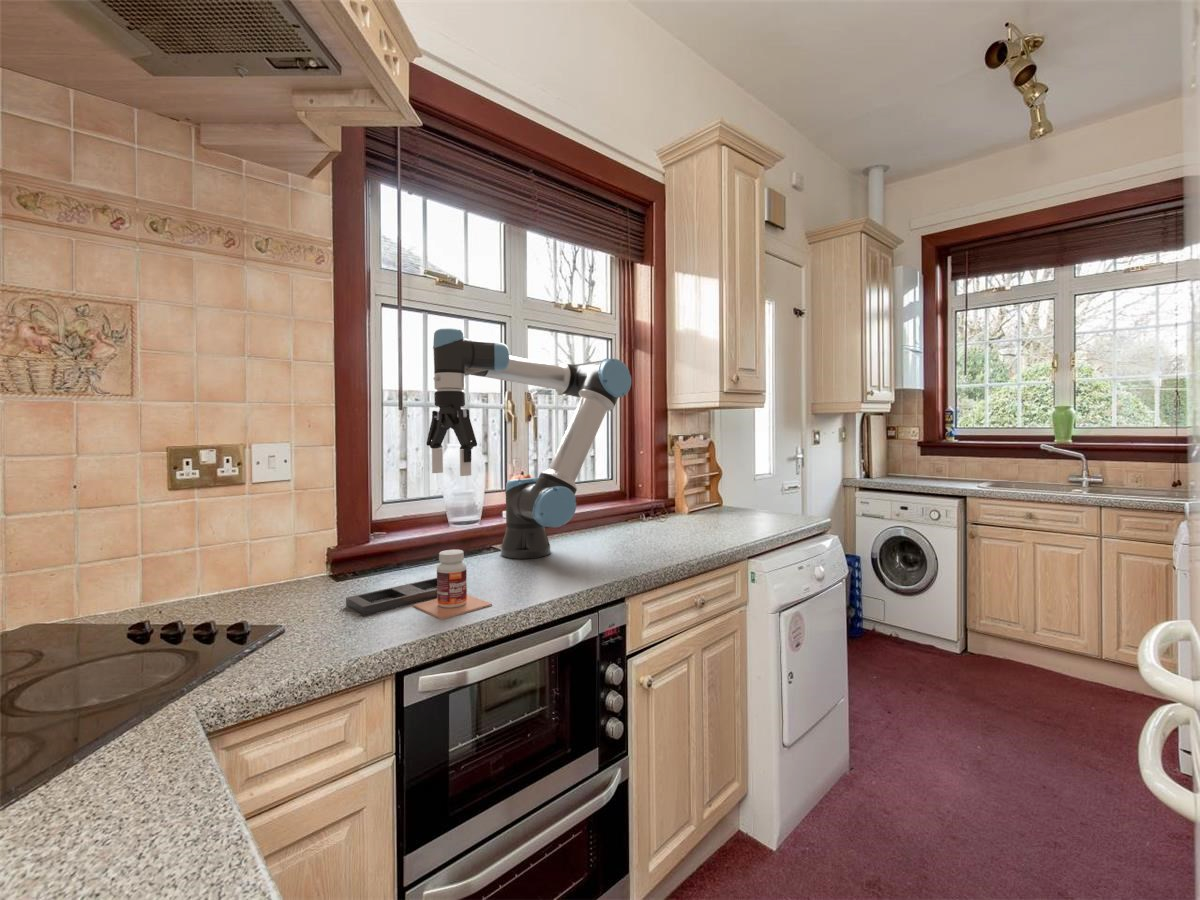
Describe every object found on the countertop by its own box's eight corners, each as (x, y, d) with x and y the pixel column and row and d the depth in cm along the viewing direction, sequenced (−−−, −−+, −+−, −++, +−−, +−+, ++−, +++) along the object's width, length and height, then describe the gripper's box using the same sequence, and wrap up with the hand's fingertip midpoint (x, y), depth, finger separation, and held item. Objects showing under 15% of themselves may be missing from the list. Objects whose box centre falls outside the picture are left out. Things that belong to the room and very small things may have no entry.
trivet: (461, 594, 125) (461, 592, 125) (492, 605, 117) (492, 603, 117) (413, 606, 117) (413, 604, 117) (441, 619, 108) (441, 617, 108)
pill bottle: (452, 610, 113) (451, 556, 112) (431, 605, 116) (430, 553, 115) (472, 602, 118) (472, 550, 118) (452, 598, 121) (451, 547, 121)
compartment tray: (446, 583, 134) (445, 575, 134) (465, 590, 128) (465, 582, 128) (346, 606, 117) (345, 597, 117) (363, 616, 111) (363, 606, 110)
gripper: (412, 392, 144) (413, 472, 144) (463, 387, 126) (465, 477, 127) (438, 394, 149) (439, 471, 150) (490, 388, 132) (491, 475, 132)
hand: (451, 474), depth 138 cm, fingers open, 13 cm apart
